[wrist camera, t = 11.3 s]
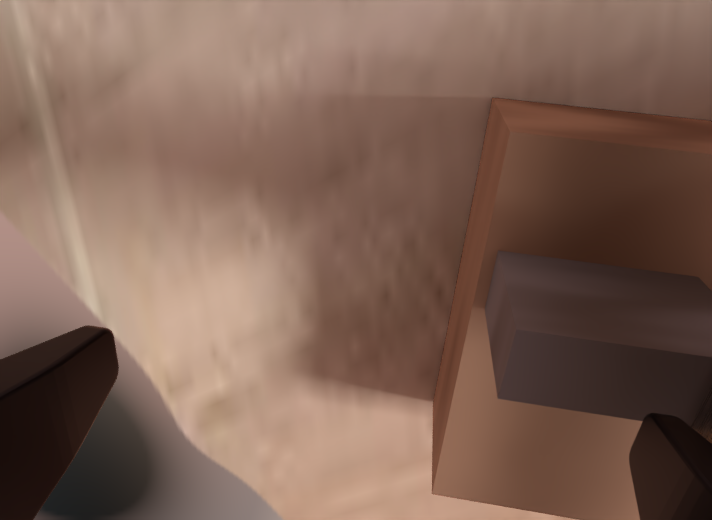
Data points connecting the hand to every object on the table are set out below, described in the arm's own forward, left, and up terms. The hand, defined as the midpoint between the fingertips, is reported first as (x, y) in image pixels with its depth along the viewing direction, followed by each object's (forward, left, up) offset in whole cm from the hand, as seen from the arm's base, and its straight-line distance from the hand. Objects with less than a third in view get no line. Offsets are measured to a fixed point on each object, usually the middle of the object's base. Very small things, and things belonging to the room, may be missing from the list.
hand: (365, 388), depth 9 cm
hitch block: (-8, +2, -8) cm, 12 cm away
